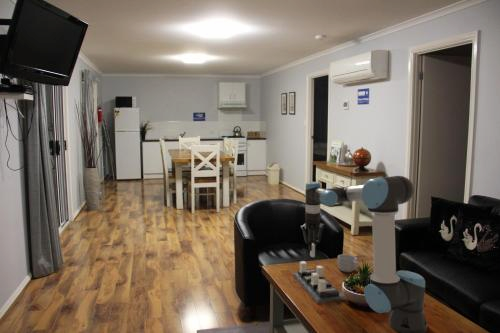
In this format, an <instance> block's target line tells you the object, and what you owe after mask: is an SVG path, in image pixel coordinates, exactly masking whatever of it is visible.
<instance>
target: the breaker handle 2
mask: <svg viewBox="0 0 500 333" xmlns="http://www.w3.org/2000/svg"><path fill="white" fill-rule="evenodd" d="M318 279H319V274H318V273H311V283H312V284H313V285H318Z"/></svg>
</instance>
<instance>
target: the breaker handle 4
mask: <svg viewBox="0 0 500 333" xmlns="http://www.w3.org/2000/svg"><path fill="white" fill-rule="evenodd" d="M318 290H319V291H320V292H325V291H326V281H325V280H324V279H318Z"/></svg>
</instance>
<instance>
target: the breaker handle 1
mask: <svg viewBox="0 0 500 333" xmlns="http://www.w3.org/2000/svg"><path fill="white" fill-rule="evenodd" d="M307 266H308V264H307V262H306V260H302V261H299V270H300V271H301V272H302V273H303V272H307V269H308V268H307Z"/></svg>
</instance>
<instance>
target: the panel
mask: <svg viewBox="0 0 500 333" xmlns="http://www.w3.org/2000/svg"><path fill="white" fill-rule="evenodd" d="M311 273H316V268H307V272H303V273H302V272H301V271H300V269H298V270H297V272H293V278H294V279H295V280H296V281H297V283H299V285H300V286H301V287H302V288H303V289H304V291H306V292H307V294H308V295H310V296H309V297H311V298H312V299H313V301H314V302H316V304H325V303H330V302H331V303H332V302H338V301H339V302H340V301H344V300H345V295H344V293H342V292H341V291H340V290H339V289H337V287H335V286H334V285H333V284H332V283H331V282H330V281H329V280H328V279H327V278H326V277H325V276H323V277H319V279H324V280H325V281H326V291H325V292H320V291H319V290H318V285H313V284H312V283H311Z"/></svg>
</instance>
